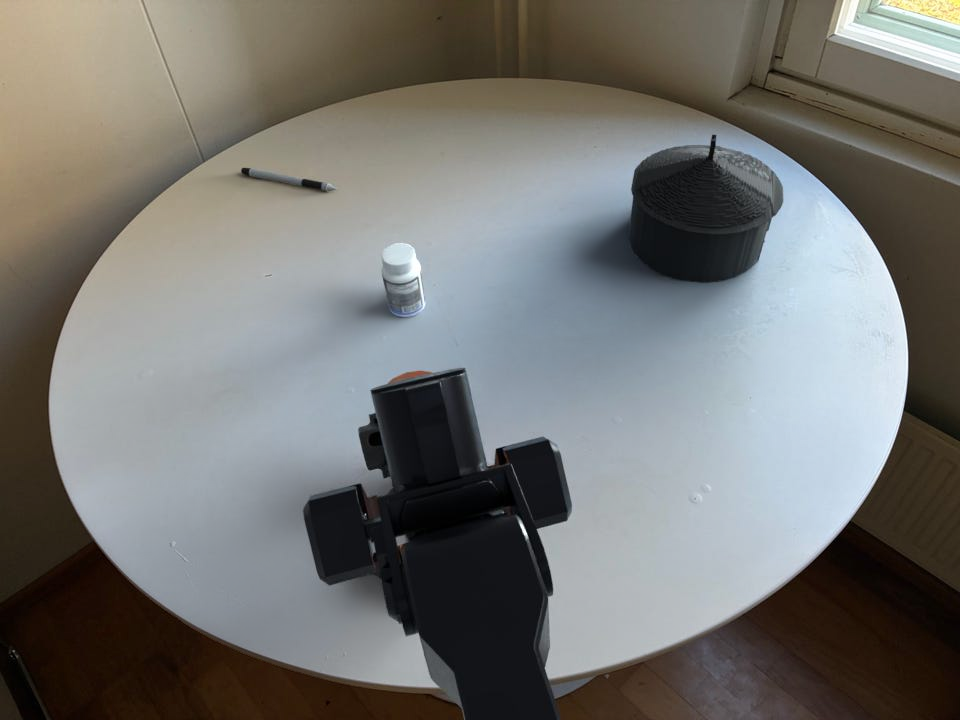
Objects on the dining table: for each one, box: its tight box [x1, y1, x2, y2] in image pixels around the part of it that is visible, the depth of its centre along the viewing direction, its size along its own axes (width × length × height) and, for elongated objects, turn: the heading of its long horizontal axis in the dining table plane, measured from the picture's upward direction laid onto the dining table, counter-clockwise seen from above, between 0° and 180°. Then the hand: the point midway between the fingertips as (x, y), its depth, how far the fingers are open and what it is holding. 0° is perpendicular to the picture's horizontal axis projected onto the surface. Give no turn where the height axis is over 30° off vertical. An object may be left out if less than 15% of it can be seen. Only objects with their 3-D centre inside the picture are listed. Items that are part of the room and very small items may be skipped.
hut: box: [628, 134, 784, 284], centre depth 96 cm, size 18×18×15 cm
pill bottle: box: [381, 242, 427, 318], centre depth 93 cm, size 5×5×8 cm
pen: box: [240, 167, 338, 193], centre depth 114 cm, size 1×16×1 cm, turn 69°
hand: (430, 487), depth 64 cm, fingers open, 9 cm apart
